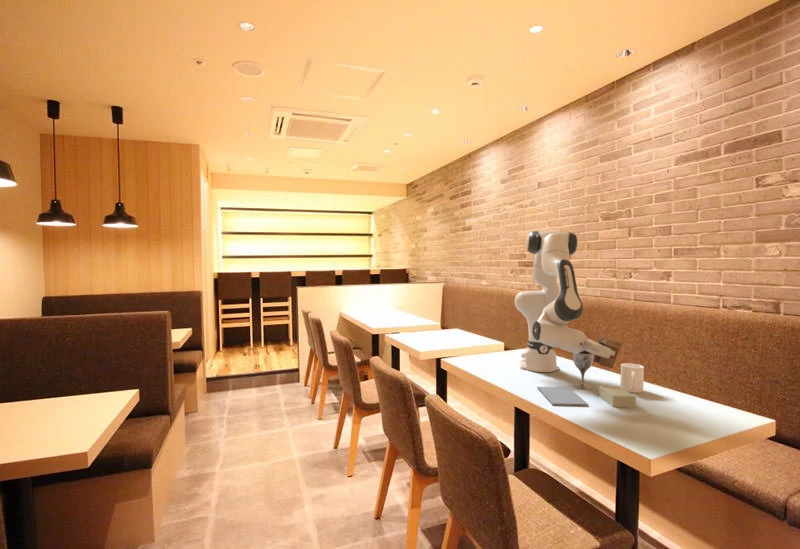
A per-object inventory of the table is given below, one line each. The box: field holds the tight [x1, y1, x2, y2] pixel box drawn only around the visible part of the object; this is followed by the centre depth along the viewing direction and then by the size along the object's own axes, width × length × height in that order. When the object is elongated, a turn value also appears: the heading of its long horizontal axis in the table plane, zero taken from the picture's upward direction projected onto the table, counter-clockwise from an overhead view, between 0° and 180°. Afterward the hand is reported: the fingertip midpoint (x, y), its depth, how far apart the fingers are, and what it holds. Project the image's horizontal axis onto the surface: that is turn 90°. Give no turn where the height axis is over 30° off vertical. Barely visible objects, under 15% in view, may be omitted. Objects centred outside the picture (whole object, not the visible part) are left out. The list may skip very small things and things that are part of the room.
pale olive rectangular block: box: [598, 385, 637, 408], centre depth 154 cm, size 12×8×4 cm, turn 176°
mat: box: [537, 386, 589, 407], centre depth 159 cm, size 20×13×1 cm, turn 176°
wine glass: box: [572, 350, 594, 390], centre depth 172 cm, size 8×8×15 cm
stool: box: [593, 336, 623, 369], centre depth 154 cm, size 6×11×11 cm, turn 91°
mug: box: [619, 362, 645, 394], centre depth 166 cm, size 12×8×10 cm
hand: (609, 351), depth 154 cm, fingers closed on stool, 5 cm apart
